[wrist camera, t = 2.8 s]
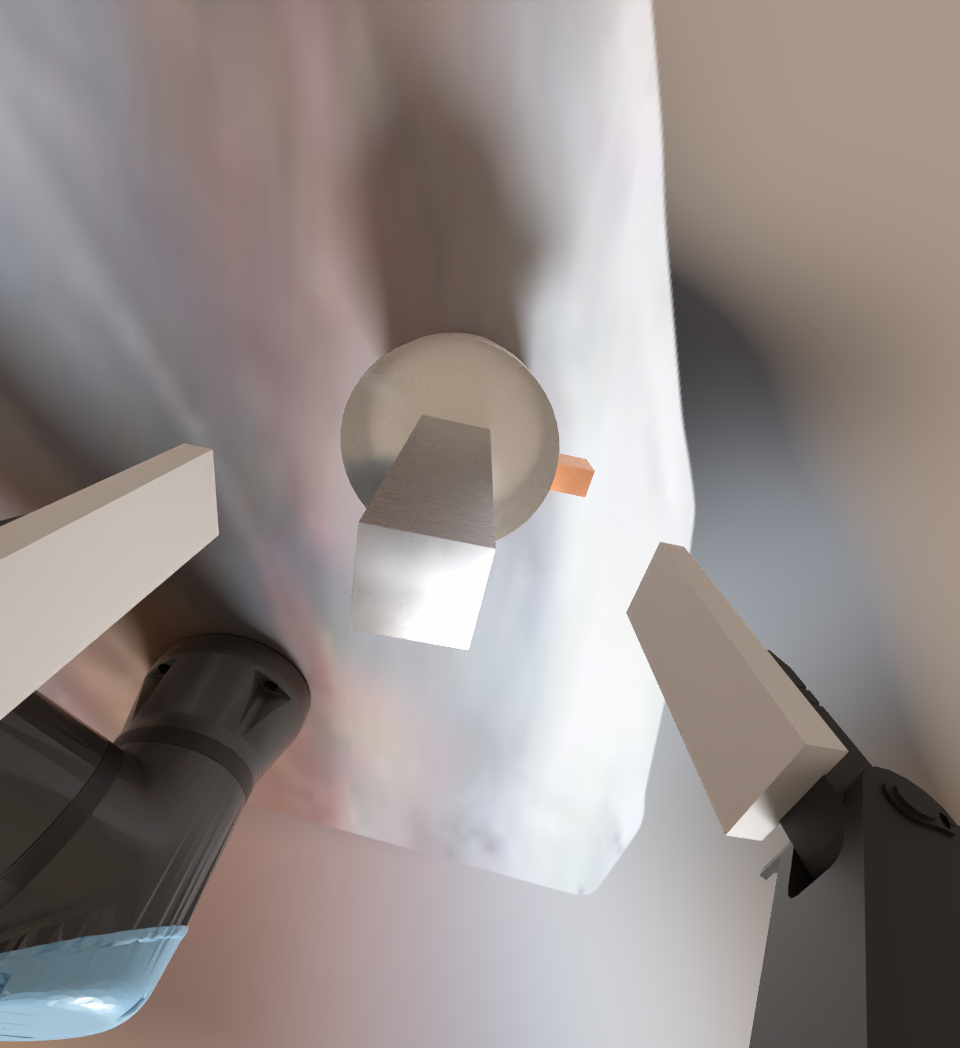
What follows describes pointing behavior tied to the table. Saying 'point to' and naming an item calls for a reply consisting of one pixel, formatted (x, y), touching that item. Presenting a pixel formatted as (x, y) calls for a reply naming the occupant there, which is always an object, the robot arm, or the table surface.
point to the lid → (444, 480)
